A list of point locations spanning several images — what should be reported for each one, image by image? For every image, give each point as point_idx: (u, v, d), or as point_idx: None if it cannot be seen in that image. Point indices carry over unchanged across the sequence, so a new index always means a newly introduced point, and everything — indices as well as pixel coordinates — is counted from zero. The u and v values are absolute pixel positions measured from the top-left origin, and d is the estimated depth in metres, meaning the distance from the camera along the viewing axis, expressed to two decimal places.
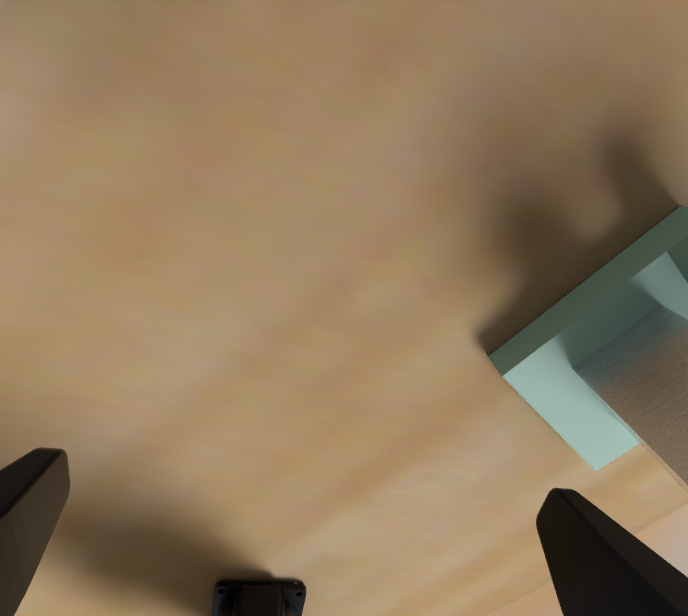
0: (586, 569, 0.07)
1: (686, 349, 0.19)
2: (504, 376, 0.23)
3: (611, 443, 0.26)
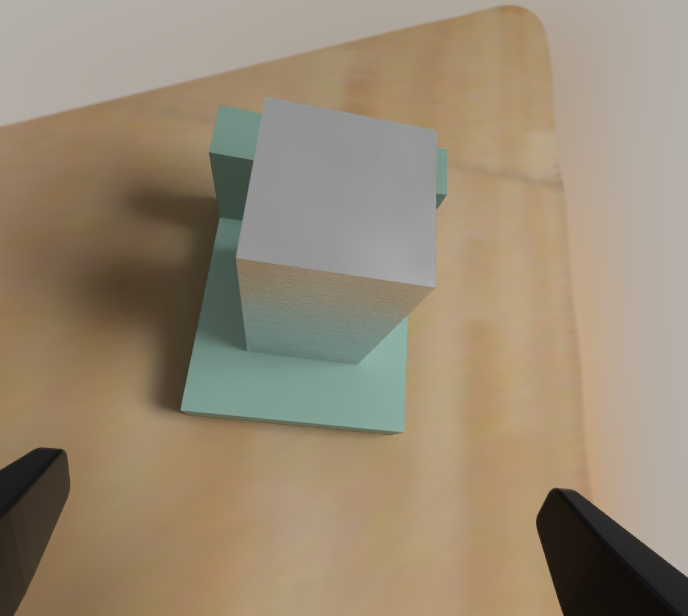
0: (586, 569, 0.07)
1: None
2: (183, 408, 0.19)
3: (379, 390, 0.21)
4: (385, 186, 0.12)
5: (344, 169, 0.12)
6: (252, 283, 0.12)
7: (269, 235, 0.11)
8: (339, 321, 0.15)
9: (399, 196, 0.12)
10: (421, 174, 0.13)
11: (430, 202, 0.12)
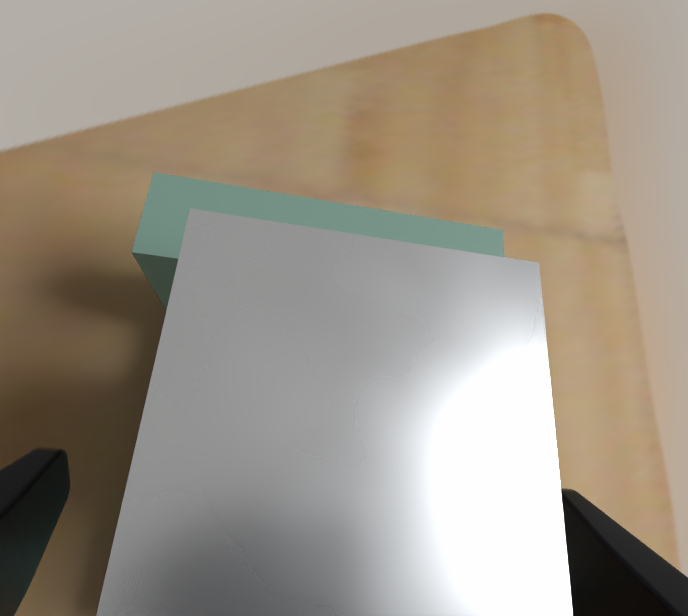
0: (586, 569, 0.07)
1: None
2: None
3: None
4: (447, 406, 0.06)
5: (359, 371, 0.06)
6: None
7: (178, 586, 0.05)
8: None
9: (478, 430, 0.06)
10: (519, 368, 0.06)
11: (544, 437, 0.06)
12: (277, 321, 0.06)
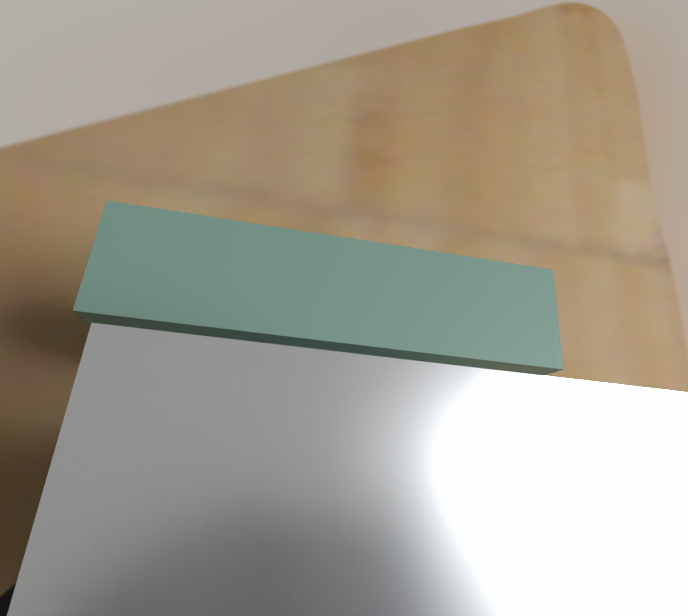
0: None
1: None
2: None
3: None
4: None
5: None
6: None
7: None
8: None
9: None
10: (681, 606, 0.03)
11: None
12: (246, 549, 0.03)
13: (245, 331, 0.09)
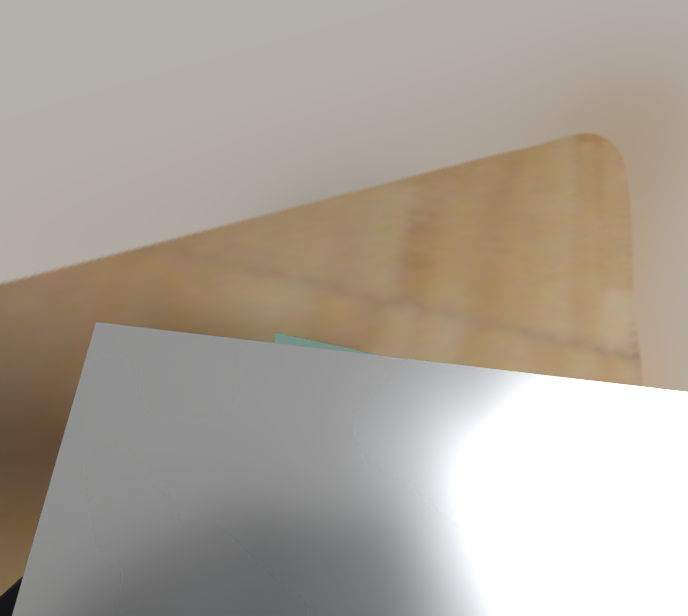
0: None
1: None
2: None
3: None
4: None
5: None
6: None
7: None
8: None
9: None
10: (684, 605, 0.03)
11: None
12: (250, 548, 0.03)
13: None
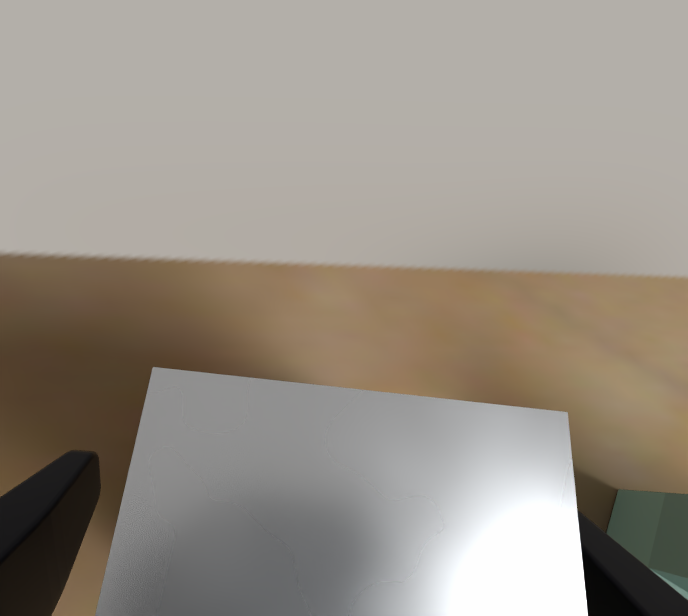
0: None
1: None
2: None
3: None
4: None
5: (353, 578, 0.05)
6: None
7: None
8: None
9: None
10: (546, 558, 0.05)
11: None
12: (255, 516, 0.05)
13: None
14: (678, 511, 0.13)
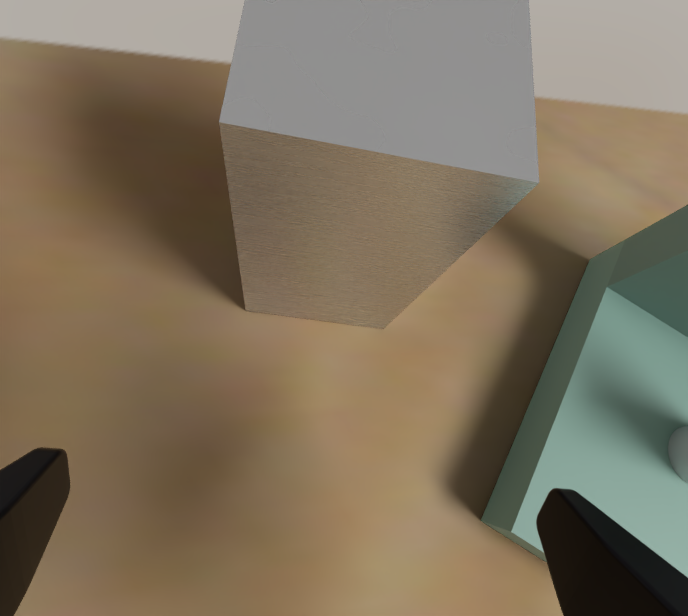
0: (586, 569, 0.07)
1: None
2: (514, 531, 0.13)
3: None
4: (454, 32, 0.08)
5: (391, 2, 0.08)
6: (248, 183, 0.08)
7: (275, 91, 0.07)
8: (371, 257, 0.11)
9: (476, 48, 0.08)
10: (507, 18, 0.08)
11: (523, 58, 0.08)
12: None
13: None
14: (633, 243, 0.17)
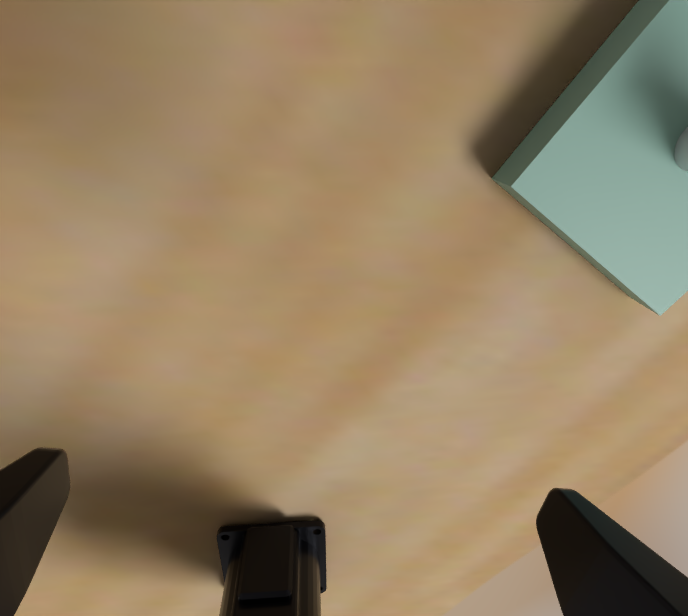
0: (586, 569, 0.07)
1: None
2: (514, 186, 0.17)
3: (676, 271, 0.19)
4: None
5: None
6: None
7: None
8: None
9: None
10: None
11: None
12: None
13: None
14: None
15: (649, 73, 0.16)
